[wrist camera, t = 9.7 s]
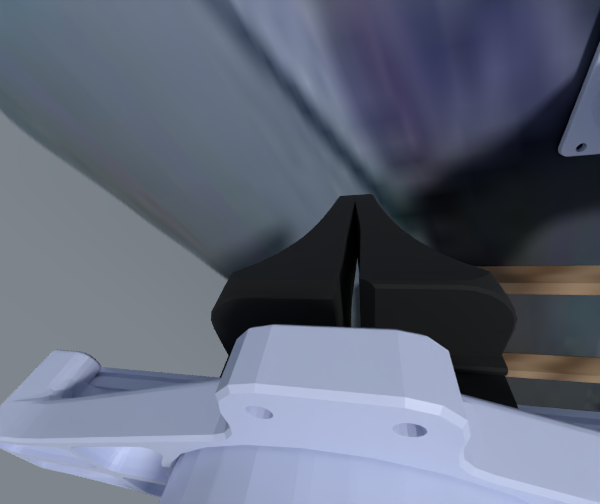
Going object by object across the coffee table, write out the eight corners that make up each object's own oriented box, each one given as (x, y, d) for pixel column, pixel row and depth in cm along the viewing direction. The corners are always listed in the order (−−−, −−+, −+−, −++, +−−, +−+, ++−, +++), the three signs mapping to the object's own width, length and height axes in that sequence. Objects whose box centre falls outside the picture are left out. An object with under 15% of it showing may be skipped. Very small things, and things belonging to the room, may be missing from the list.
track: (679, 264, 21) (728, 300, 18) (594, 364, 29) (618, 399, 26) (377, 267, 26) (379, 295, 23) (376, 351, 33) (377, 379, 31)
